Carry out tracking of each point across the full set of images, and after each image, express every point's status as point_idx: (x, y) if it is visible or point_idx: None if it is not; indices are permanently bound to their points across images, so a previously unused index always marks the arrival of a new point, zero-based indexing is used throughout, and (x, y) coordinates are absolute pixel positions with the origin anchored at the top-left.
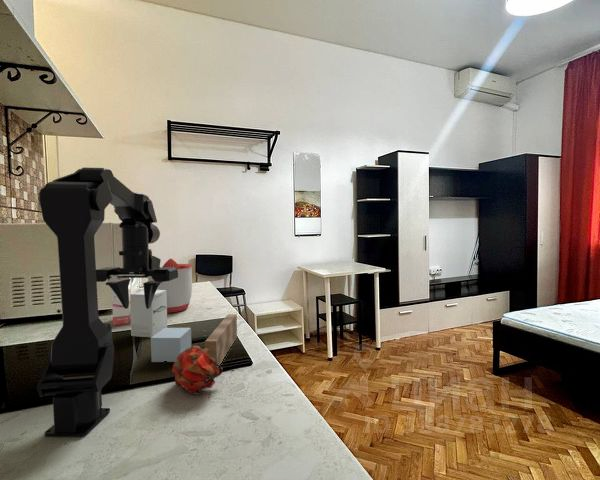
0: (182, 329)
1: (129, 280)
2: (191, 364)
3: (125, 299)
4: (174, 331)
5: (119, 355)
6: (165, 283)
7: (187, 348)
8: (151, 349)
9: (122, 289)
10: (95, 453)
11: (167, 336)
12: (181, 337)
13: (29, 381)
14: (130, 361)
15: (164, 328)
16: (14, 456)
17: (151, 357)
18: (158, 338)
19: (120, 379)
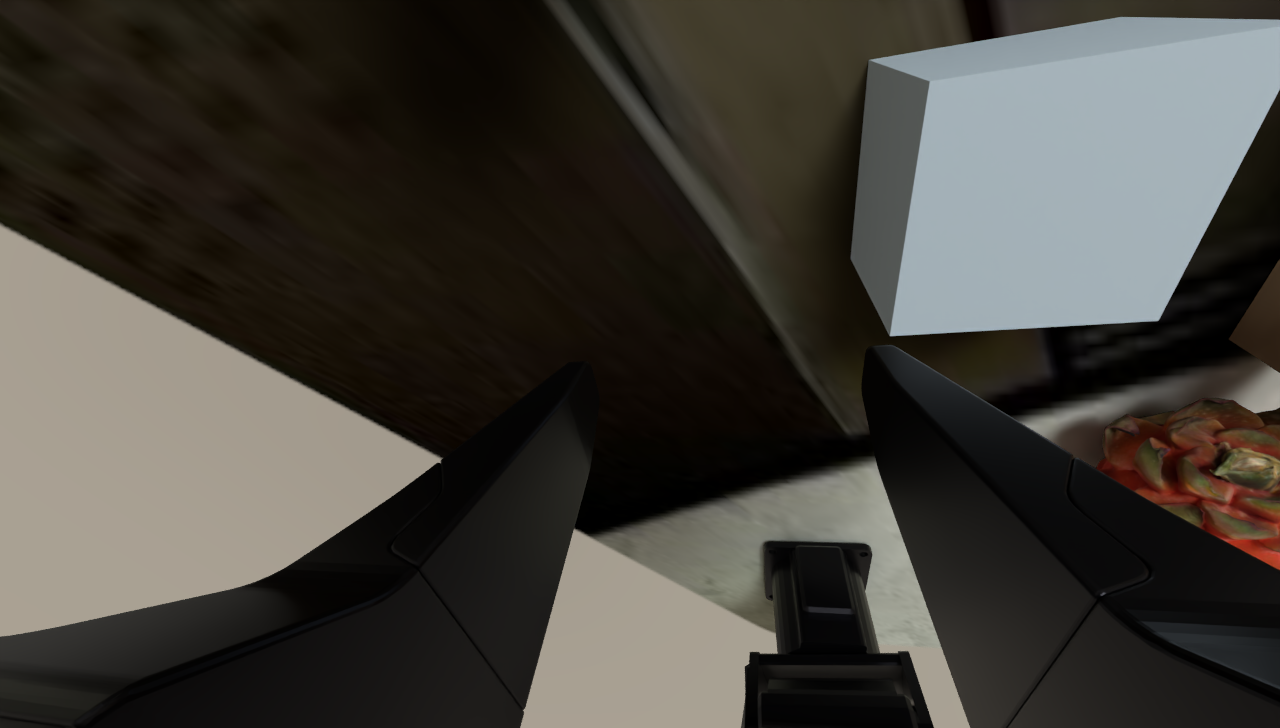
0: (1181, 104)
1: (210, 705)
2: None
3: (564, 490)
4: (1081, 178)
5: (599, 202)
6: None
7: (1247, 537)
8: (869, 292)
9: (495, 669)
10: (914, 622)
11: (1029, 301)
12: (1165, 286)
13: (465, 431)
14: (721, 266)
15: (938, 104)
16: (755, 617)
17: (856, 269)
18: (953, 330)
19: (786, 411)
